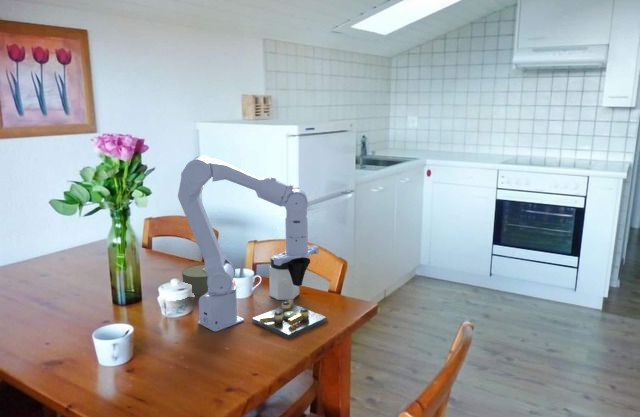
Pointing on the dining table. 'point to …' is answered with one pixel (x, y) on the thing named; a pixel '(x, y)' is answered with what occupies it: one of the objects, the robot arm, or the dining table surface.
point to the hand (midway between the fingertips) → (297, 284)
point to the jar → (281, 282)
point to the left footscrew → (272, 318)
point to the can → (196, 279)
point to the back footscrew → (287, 305)
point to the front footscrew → (299, 316)
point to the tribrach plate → (294, 329)
